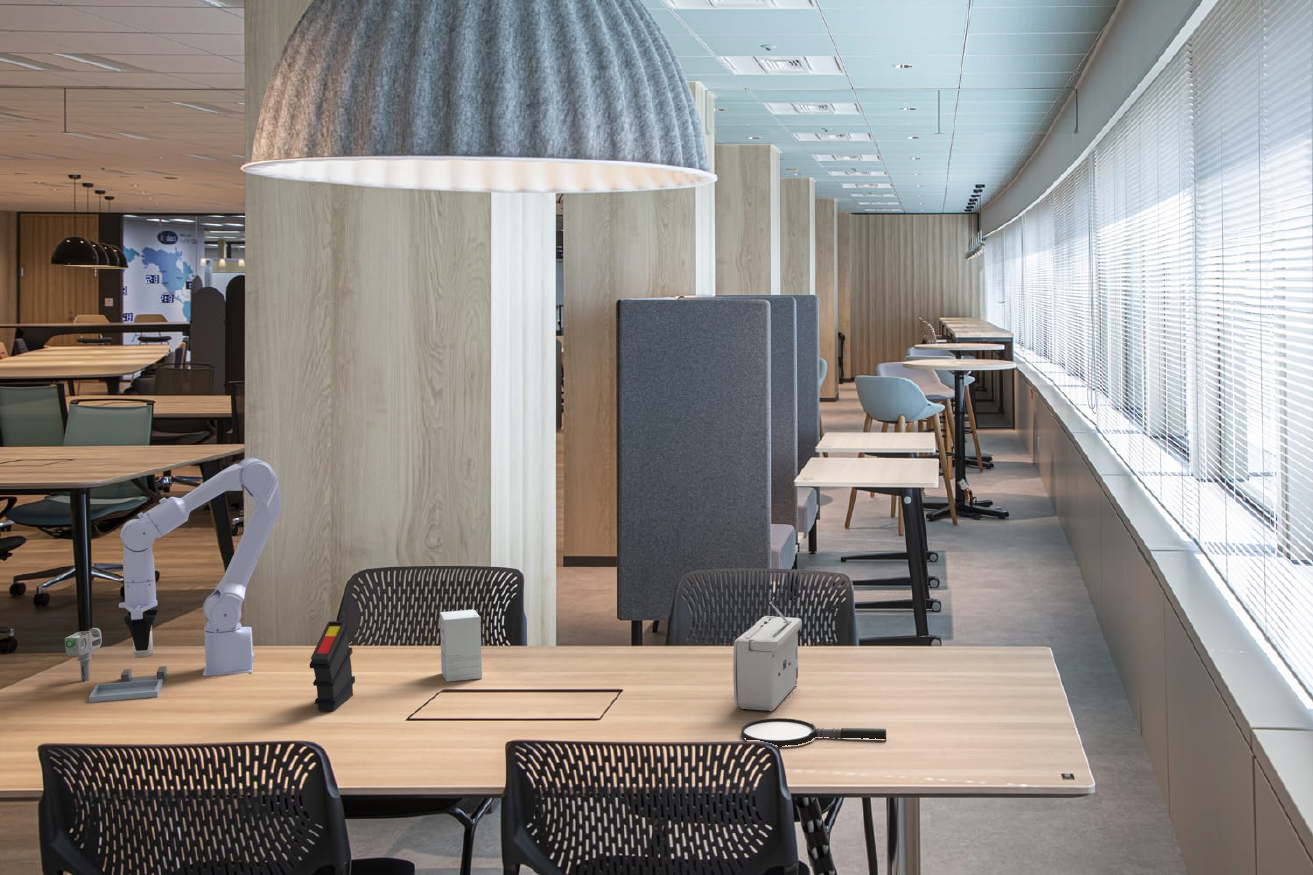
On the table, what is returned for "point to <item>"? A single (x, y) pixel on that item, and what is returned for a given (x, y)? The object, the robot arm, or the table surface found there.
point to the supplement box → (460, 645)
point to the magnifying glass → (800, 732)
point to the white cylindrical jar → (146, 652)
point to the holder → (127, 676)
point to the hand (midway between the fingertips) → (143, 647)
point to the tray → (126, 691)
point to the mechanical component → (83, 648)
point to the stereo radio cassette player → (766, 662)
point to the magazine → (333, 667)
